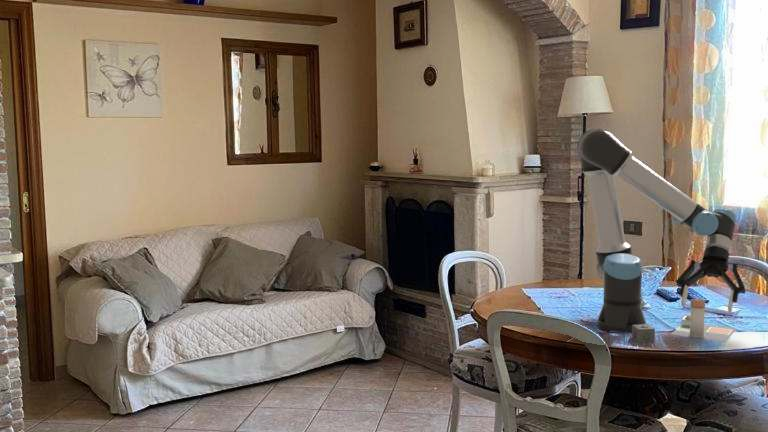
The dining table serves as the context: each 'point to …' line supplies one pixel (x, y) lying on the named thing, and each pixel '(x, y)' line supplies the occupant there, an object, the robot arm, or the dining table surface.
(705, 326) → the grey flat square panel
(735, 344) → the dining table surface
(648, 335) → the grey smiley picture cube
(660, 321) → the dining table surface
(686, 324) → the button housing
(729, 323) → the dining table surface
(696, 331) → the ball
